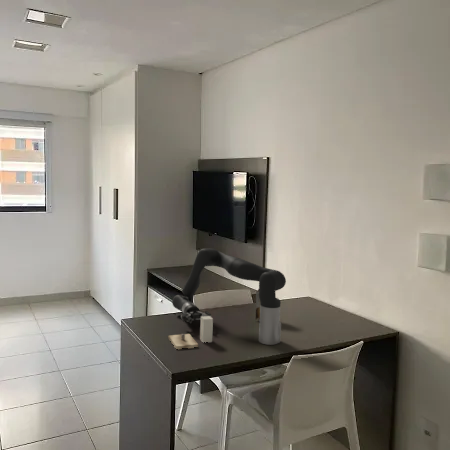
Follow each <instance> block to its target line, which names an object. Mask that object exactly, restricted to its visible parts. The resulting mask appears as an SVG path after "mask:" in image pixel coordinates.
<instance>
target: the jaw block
mask: <svg viewBox="0 0 450 450" xmlns="http://www.w3.org/2000/svg"><path fill="white" fill-rule="evenodd" d="M213 323H214V318H213V317H212V316H211V317H210V316H202V317H201V320H200V327H199V340H200V341H201V343H202V342H203V343H202V344H205V343H206V342H208V343H213V328H214V327H213V325H214V324H213ZM204 342H205V343H204ZM206 344H207V343H206Z"/></svg>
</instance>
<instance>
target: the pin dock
mask: <svg viewBox="0 0 450 450" xmlns="http://www.w3.org/2000/svg"><path fill="white" fill-rule="evenodd" d="M167 337H168V340H169V342H170V341H171V342H170V343H171V344H173V345H174V346H173V345H172V346H173V347H174V349H175V348H176V349H178V350H183V349H182V348H188V349H195V348H194V347H198V348H199V343H198V342H197V341H196V340H195V339H194V337H192V335H191V334H190V333H181V334H172V335H171V334H170V335H168V336H167ZM176 349H175V350H176Z"/></svg>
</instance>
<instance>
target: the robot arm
mask: <svg viewBox="0 0 450 450" xmlns="http://www.w3.org/2000/svg"><path fill="white" fill-rule="evenodd" d="M205 267H219V268H220V269H224V270H225V271H226V272H227V273H228V275H230V276H232V277H235V278H238V279H240V280H245V281H253V282H258V289H259V299H260V321H259V323H258V324H259V325H258V326H259V327H258V343H260V344H263V345H268V346H270V345H271V346H273V345H277V344H280V343H281V337H282V335H281V334H282V322H281V320H280V319H281V300H280V299H279V298H278V297H276V292H277V291H280V290H281V289H283V288H284V287H285V285H286V282H287V281H286V277H285V275H284V274H283V273H282V272H281V271H280V270H276V269H271V268H267V267H264V266H260V265H258V264H255V263H253V262H250V261H248V260H245V259H242V258H239V257H236V256H232V255H229V254H226V253H224V252H222V251H220V250H218V249H216V248H212V247H211V248H208V247H207V248H202V249H199V251H198V252H197V254H196V257H195V259H194V262H193V265H192V267H191V268H192V269H191V270H190V271H191V272H190V274H189V276H188V278H187V280H186V282H185V284H184V285H183V287H182V290H181V292H182V294H181V295H180V294H177V295H175V296H173V298H172V302H171V303H172V306H173V307H174V308H175V309H176V310H178V311H180V312H181V313H180V319H181V320H182V322H188V323H189V324H193V321H194V322H195V321H196V320H200V321H201V317H202V316H210V317H212V314H211V313H210V312H208V311H206V310H205V312H202V311H201V309H200V308H199V307H198V306H197V305H196V304H194V303H193V300H194V297H195V294H196V292H197V291H198V288H199V287H200V285H201V274H202V271H203V270H204V269H205ZM183 295H184V296H183Z"/></svg>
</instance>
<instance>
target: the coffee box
mask: <svg viewBox="0 0 450 450" xmlns="http://www.w3.org/2000/svg"><path fill="white" fill-rule="evenodd" d="M255 293H256V294H255V316H254V317H255V320H254V321H255V322H260V299H259V288H258V289H257V291H256V292H255Z"/></svg>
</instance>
